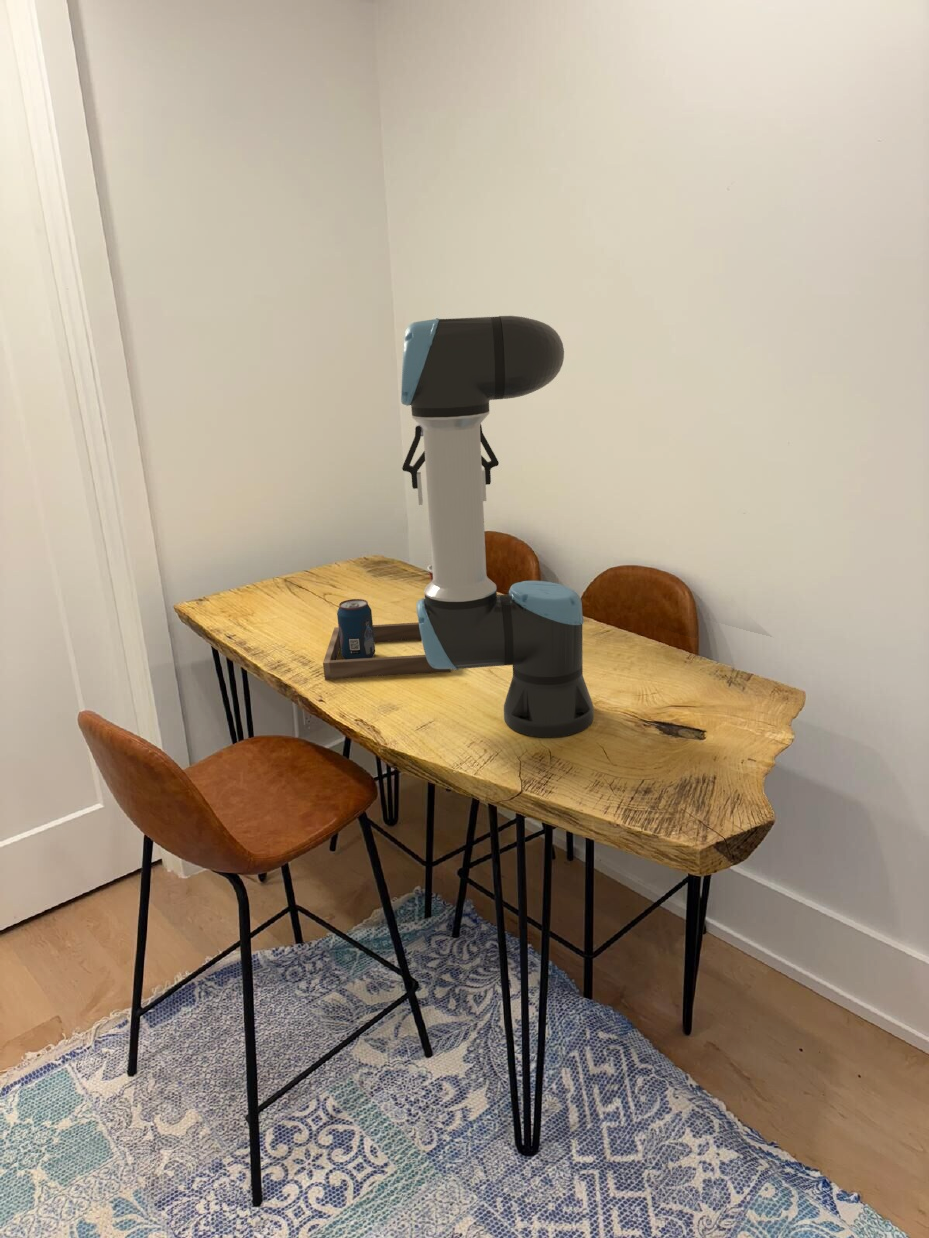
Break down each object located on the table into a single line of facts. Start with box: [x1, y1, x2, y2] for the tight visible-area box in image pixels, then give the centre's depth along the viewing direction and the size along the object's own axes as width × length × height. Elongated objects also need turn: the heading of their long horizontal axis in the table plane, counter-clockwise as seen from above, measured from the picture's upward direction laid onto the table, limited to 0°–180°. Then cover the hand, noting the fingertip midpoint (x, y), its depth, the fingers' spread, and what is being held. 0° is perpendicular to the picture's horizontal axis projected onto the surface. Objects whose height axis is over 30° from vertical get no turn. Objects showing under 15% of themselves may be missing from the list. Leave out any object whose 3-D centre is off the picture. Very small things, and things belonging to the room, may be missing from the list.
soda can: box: [336, 598, 376, 660], centre depth 170 cm, size 7×7×12 cm
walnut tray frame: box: [322, 621, 452, 681], centre depth 172 cm, size 20×25×4 cm
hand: (452, 501), depth 179 cm, fingers open, 13 cm apart
